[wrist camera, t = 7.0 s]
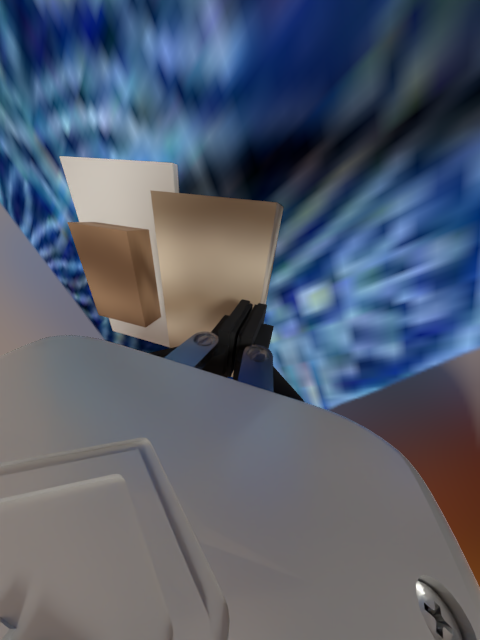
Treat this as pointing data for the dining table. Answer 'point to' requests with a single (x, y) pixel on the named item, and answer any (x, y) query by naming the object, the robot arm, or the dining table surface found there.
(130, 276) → the walnut tile
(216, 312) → the birch stand
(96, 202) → the off-white mat
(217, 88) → the dining table surface
